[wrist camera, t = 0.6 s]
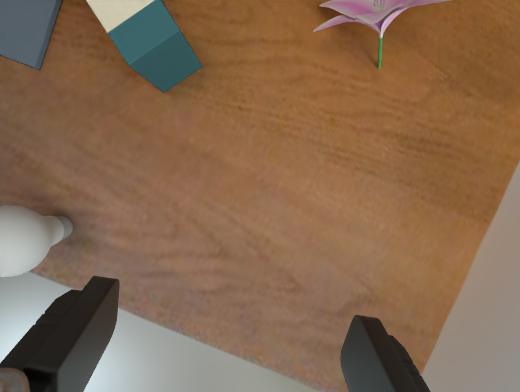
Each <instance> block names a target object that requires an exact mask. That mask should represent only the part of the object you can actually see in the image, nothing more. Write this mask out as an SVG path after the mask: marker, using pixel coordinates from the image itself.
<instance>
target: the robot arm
mask: <svg viewBox="0 0 520 392" xmlns="http://www.w3.org/2000/svg"><path fill="white" fill-rule="evenodd" d="M118 298H119V280H118V279H112V278H106V277H99V276H93V277H92V278H91V280H90V281H89V282H88V283H87V285H86V286H85V287H84V289H83V290H82V291H79V290H70V291H69V292H67V293H65V294H63V295H62V296H60V297H58V298H57V299H55V301H54V302H53V303H52V304H51V305H50V307H49V308H48V309H47V310H46V311H45V314H42V316H41V317H40V318H39V319H38V320H37V321H36V324H35V325H33V326H32V327H31V328H30V330H29V331H28V332H27V333H26V334H25V335H24V336H23V338H22V339H21V340H20V341H19V342H18V344H17V345H16V346H15V347H14V348H13V349H12V351H11V352H10V353H9V354H8V355H7V356H6V357H5V359H4V360H3V361H2V362H1V363H0V392H83V391H84V389H85V387H86V385H87V383H88V381H89V380H90V378H91V376H92V374H93V372H94V370H95V368H96V366H97V364H98V362H99V360H100V358H101V356H102V354H103V353H104V351H105V349H106V347H107V345H108V343H109V341H110V339H111V337H112V334H113V332H114V329H115V325H116V321H117V311H118ZM341 368H342V371H343V374H344V377H345V380H346V383H347V386H348V389H349V392H430V390H429V388H428V387H427V385H426V383H425V382H424V380H423V379H422V376H420V375H419V371H418V370H417V368H416V366H415V365H414V364H413V361H412V359H411V358H410V356H409V354H408V353H407V351H406V349H405V348H404V347H403V346H402V345H401V344H400V343H399V342H398V341H397V340H396V339H395V338H394V337H393V336H391V335H388V334H387V332H386V330H385V328H384V327H383V325H382V323H381V321H380V320H379V319H378V318H373V317H366V316H360V315H356V316H354V318H353V320H352V322H351V325H350V328H349V330H348V333H347V336H346V339H345V341H344V344H343V347H342V350H341Z"/></svg>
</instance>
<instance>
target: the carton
mask: <svg viewBox="0 0 520 392" xmlns="http://www.w3.org/2000/svg"><path fill="white" fill-rule="evenodd" d="M86 1H87V2H88V4H89V6H90V7H91V9H92V10H93V12H94V13H95V15H96V16H97V18H98V19H99V21H100V22H101V24H102V26H103V27H104V29H105V30H106V32H107V33H108V35H109V36H110V38H111V39H112V41H113V42H114V44H115V46H116V47H117V49H118V50H119V52H120V53H121V55H122V56H123V58H124V59H125V61H126V62H127V64H128V65H129V66H130V67H131V68H133V69H134V70H135V71H137V72H138V73H139V74H140V75H142V76H143V77H144V78H145V79H147V80H148V81H149V82H151V83H152V84H153V85H154V86H156V87H157V88H158V89H159V90H161V91H162V92H163V93H164V92H165V91H167V90H168V89H170V88H171V87H173V86H174V85H176V84H177V83H179V82H180V81H182V80H183V79H185V78H186V77H188V76H189V75H191V74H192V73H194V72H195V71H197V70H198V69H200V68H201V67H202V65H201V64H200V62H199V60H198V59H197V57H196V55H195V54H194V52H193V50H192V49H191V47H190V45H189V44H188V42H187V40H186V39H185V37H184V36H183V34H182V32H181V31H180V29H179V27H178V26H177V24H176V23H175V21H174V20H173V18H172V16H171V15H170V13H169V12H168V10H167V9H166V7H165V5H164V4H163V2H162V1H161V0H86Z"/></svg>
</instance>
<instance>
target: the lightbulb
mask: <svg viewBox="0 0 520 392" xmlns="http://www.w3.org/2000/svg"><path fill="white" fill-rule="evenodd" d="M72 230H73V226H72V222H71V221H70V220H69V219H68V218H67V217H65V216H49V215H46V216H41V215H40V214H38V213H37V212H35V211H33V210H31V209H29V208H26V207H22V206H14V205H7V206H0V277H9V276H16V275H20V274H22V273H25V272H28V271H30V270H31V269H33V268H35V267H36V266H37V265H38V264H39V263H40V262H42V261H43V259H44V258H45V257H46V255H47V253H48V252H49V250H50V247H51V246H53V245H55V244H57V243H58V242H59V241H60V240H63V239H64V238H67V237H68V236H69V235H70V234H71V233H72Z"/></svg>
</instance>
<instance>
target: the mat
mask: <svg viewBox="0 0 520 392" xmlns="http://www.w3.org/2000/svg"><path fill="white" fill-rule="evenodd" d="M61 2H62V0H0V55H1V56H4V57H6V58H9V59H12V60H14V61H17V62H20V63H22V64H25V65H27V66H30V67H33V68H35V69H38V70H40V67H41V64H42V61H43V58H44V55H45V52H46V48H47V45H48V42H49V39H50V36H51V33H52V30H53V27H54V24H55V20H56V17H57V14H58V11H59V8H60V5H61Z"/></svg>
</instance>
